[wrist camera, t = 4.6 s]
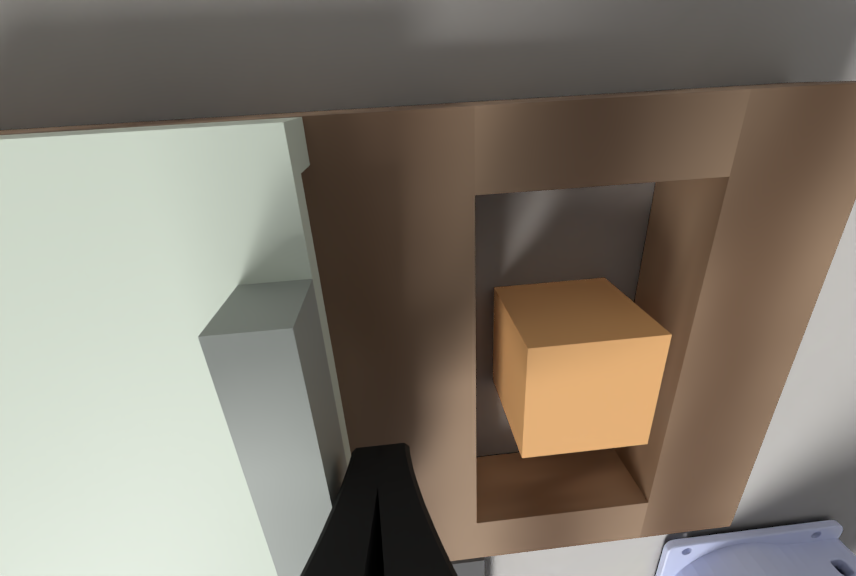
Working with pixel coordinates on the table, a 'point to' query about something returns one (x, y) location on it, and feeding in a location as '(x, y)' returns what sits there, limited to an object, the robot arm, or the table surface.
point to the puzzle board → (656, 294)
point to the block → (576, 366)
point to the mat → (470, 567)
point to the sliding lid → (163, 354)
